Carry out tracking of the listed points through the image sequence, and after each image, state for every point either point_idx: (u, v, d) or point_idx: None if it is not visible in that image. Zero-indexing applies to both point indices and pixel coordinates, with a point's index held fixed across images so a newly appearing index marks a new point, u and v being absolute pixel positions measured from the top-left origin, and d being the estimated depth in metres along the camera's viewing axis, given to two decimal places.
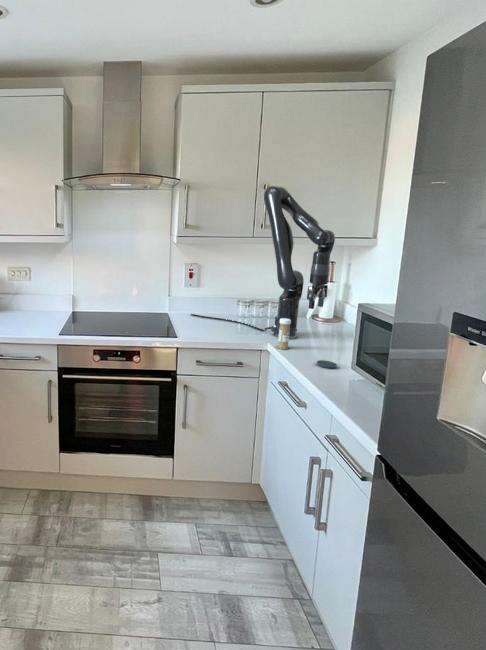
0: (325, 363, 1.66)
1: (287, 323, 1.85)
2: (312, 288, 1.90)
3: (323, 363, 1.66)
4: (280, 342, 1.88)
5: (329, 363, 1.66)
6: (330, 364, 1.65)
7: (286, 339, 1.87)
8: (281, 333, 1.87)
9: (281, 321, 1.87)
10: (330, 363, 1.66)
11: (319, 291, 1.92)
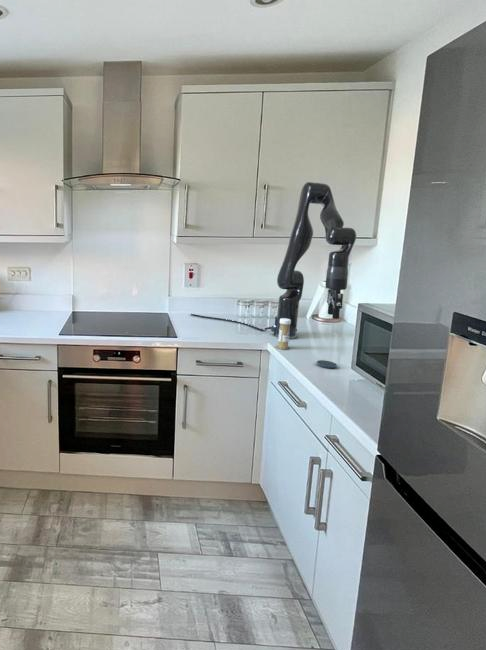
0: (325, 363, 1.66)
1: (287, 323, 1.85)
2: (341, 295, 1.63)
3: (323, 363, 1.66)
4: (280, 342, 1.88)
5: (329, 363, 1.66)
6: (330, 364, 1.65)
7: (286, 339, 1.87)
8: (281, 333, 1.87)
9: (281, 321, 1.87)
10: (330, 363, 1.66)
11: None
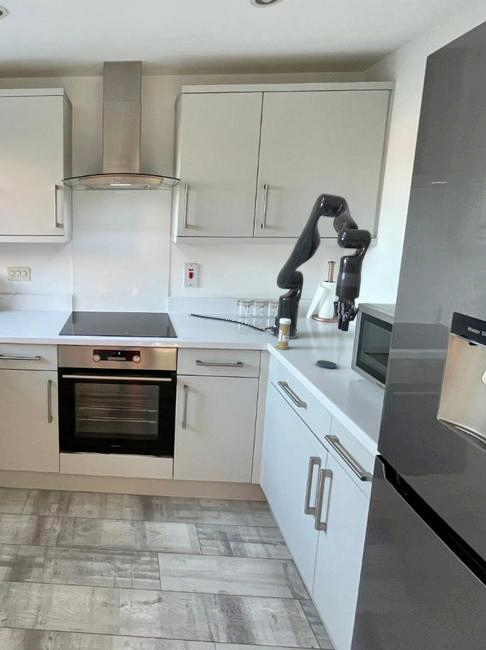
0: (325, 363, 1.66)
1: (287, 323, 1.85)
2: (357, 310, 1.48)
3: (323, 363, 1.66)
4: (280, 342, 1.88)
5: (329, 363, 1.66)
6: (330, 364, 1.65)
7: (286, 339, 1.87)
8: (281, 333, 1.87)
9: (281, 321, 1.87)
10: (330, 363, 1.66)
11: None
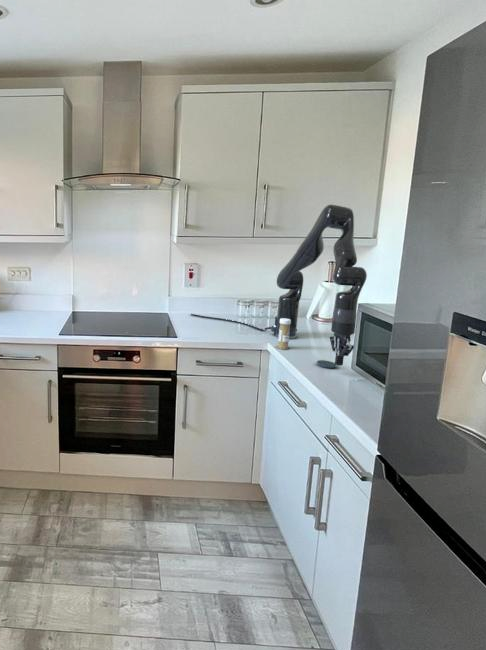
0: (325, 363, 1.66)
1: (287, 323, 1.85)
2: (352, 348, 1.50)
3: (323, 363, 1.66)
4: (280, 342, 1.88)
5: (329, 363, 1.66)
6: (330, 364, 1.65)
7: (286, 339, 1.87)
8: (281, 333, 1.87)
9: (281, 321, 1.87)
10: (330, 363, 1.66)
11: None
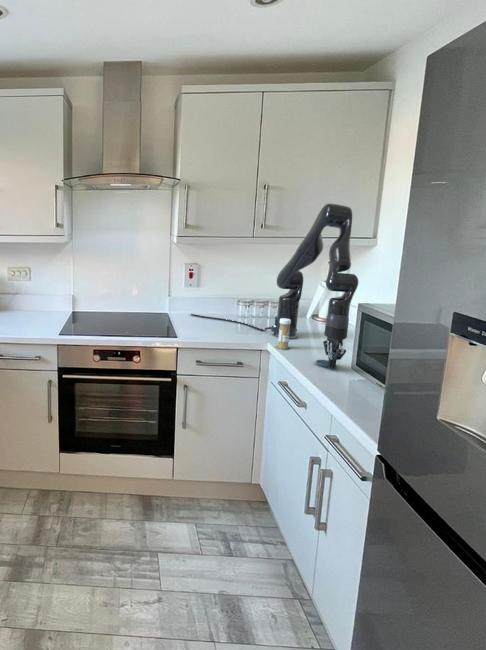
0: (324, 362, 1.67)
1: (287, 323, 1.85)
2: (344, 352, 1.55)
3: (322, 362, 1.66)
4: (280, 342, 1.88)
5: None
6: None
7: (286, 339, 1.87)
8: (281, 333, 1.87)
9: (281, 321, 1.87)
10: None
11: None
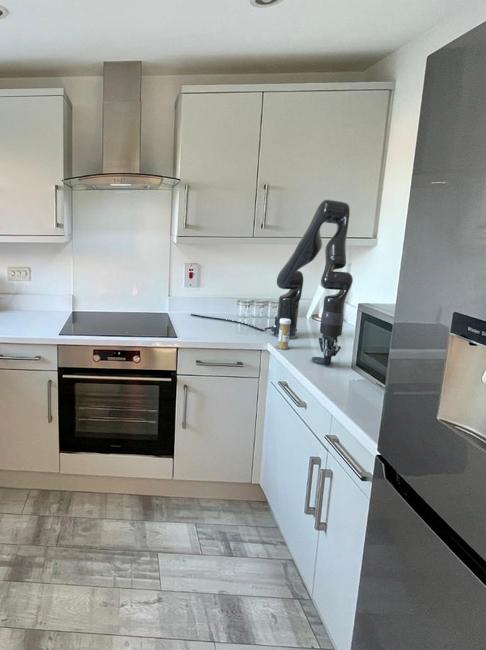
0: (320, 359, 1.71)
1: (287, 323, 1.85)
2: (339, 348, 1.59)
3: (318, 359, 1.70)
4: (280, 342, 1.88)
5: (323, 360, 1.70)
6: None
7: (286, 339, 1.87)
8: (281, 333, 1.87)
9: (281, 321, 1.87)
10: None
11: None
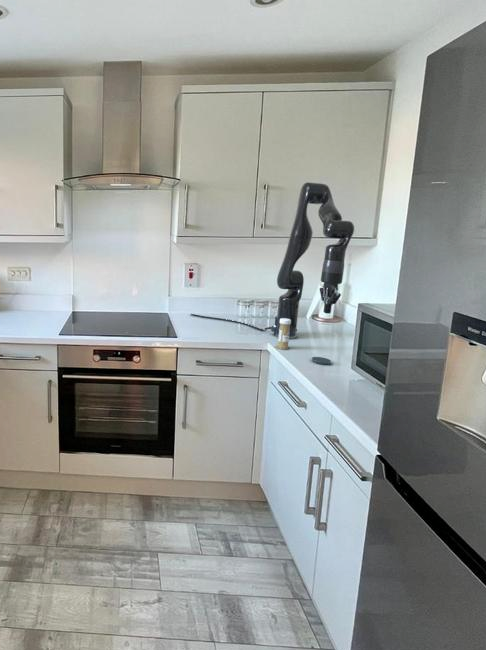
0: (320, 359, 1.71)
1: (287, 323, 1.85)
2: (339, 295, 1.63)
3: (318, 359, 1.70)
4: (280, 342, 1.88)
5: (323, 360, 1.70)
6: (325, 360, 1.69)
7: (286, 339, 1.87)
8: (281, 333, 1.87)
9: (281, 321, 1.87)
10: (325, 359, 1.70)
11: None
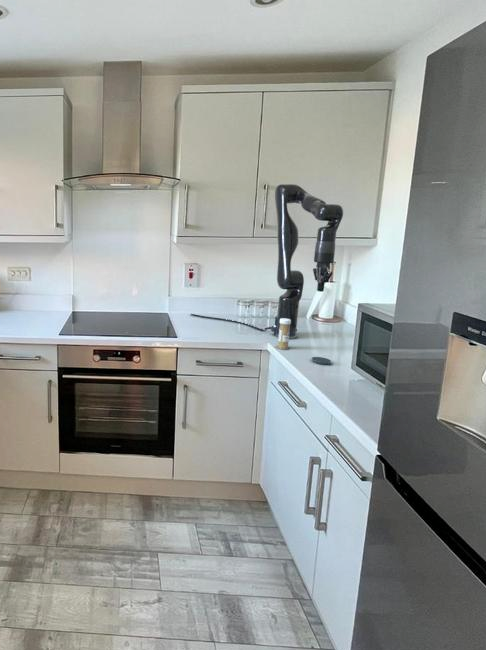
0: (320, 359, 1.71)
1: (287, 323, 1.85)
2: (331, 273, 1.75)
3: (318, 359, 1.70)
4: (280, 342, 1.88)
5: (323, 360, 1.70)
6: (325, 360, 1.69)
7: (286, 339, 1.87)
8: (281, 333, 1.87)
9: (281, 321, 1.87)
10: (325, 359, 1.70)
11: None
